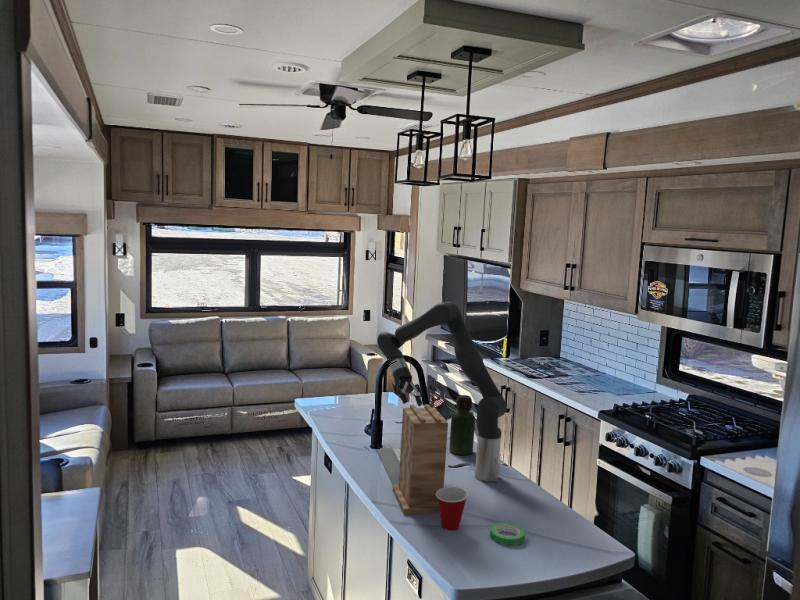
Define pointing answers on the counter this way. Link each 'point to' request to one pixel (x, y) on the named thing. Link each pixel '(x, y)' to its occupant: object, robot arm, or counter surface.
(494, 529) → the tape roll
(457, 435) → the green bottle
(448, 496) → the plastic cup
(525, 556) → the counter surface
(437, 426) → the brown tall ridged block
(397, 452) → the steel bar
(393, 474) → the rubber mat
